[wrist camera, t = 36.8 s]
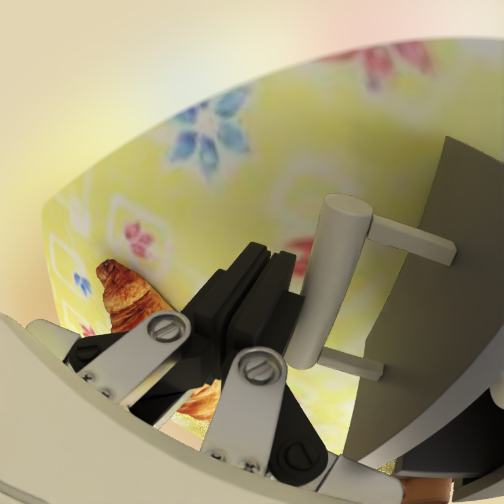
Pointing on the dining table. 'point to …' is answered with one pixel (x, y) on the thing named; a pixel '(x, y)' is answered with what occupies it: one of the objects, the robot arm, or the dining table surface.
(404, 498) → the cup and saucer
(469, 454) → the drawer
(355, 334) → the dining table surface
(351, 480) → the robot arm
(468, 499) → the cabinet
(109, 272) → the croissant
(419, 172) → the dining table surface
